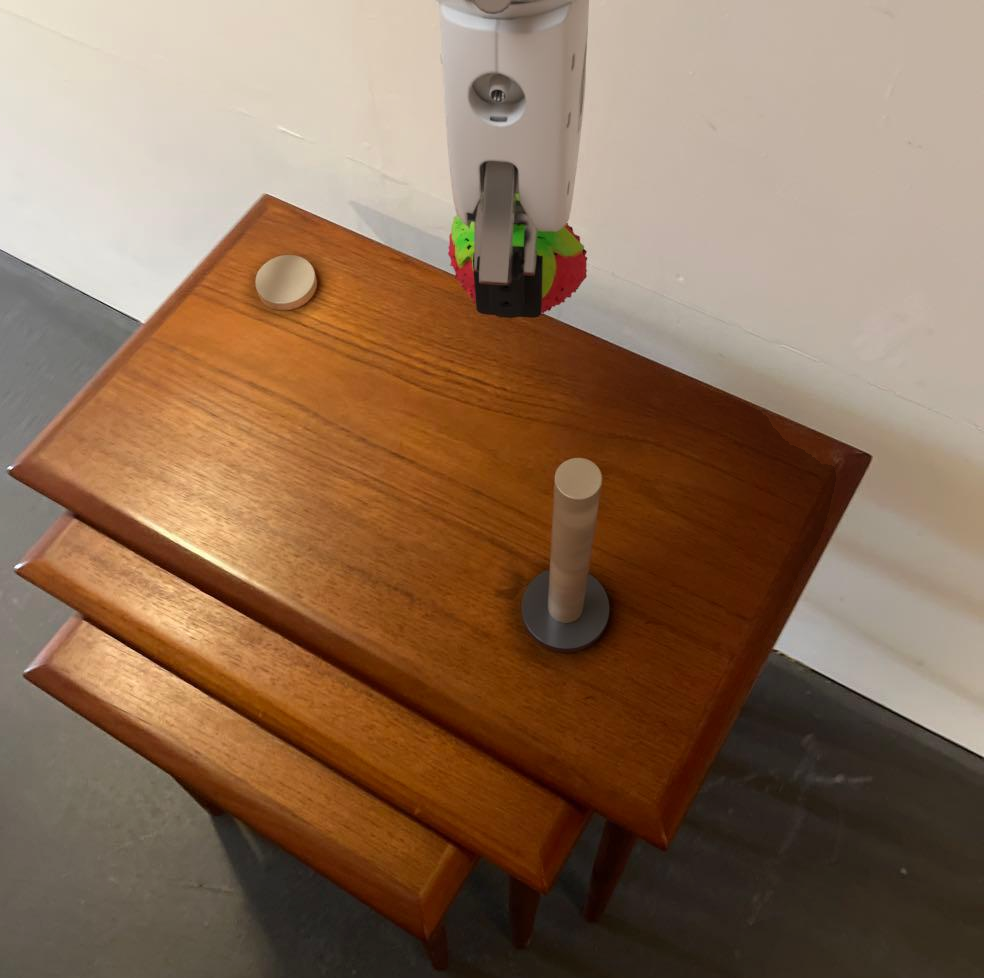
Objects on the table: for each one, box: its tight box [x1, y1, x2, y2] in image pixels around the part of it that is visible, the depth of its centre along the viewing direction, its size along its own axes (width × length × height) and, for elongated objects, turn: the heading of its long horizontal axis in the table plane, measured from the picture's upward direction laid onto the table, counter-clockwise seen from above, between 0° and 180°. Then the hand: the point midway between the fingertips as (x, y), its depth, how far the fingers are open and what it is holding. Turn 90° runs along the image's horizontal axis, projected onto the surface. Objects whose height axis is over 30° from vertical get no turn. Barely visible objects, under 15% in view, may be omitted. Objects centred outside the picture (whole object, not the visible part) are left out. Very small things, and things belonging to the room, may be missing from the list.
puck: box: [254, 254, 318, 312], centre depth 81 cm, size 5×5×1 cm
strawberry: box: [447, 193, 588, 319], centre depth 50 cm, size 6×7×10 cm
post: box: [521, 457, 611, 654], centre depth 58 cm, size 6×6×20 cm
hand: (517, 254), depth 50 cm, fingers closed on strawberry, 6 cm apart
